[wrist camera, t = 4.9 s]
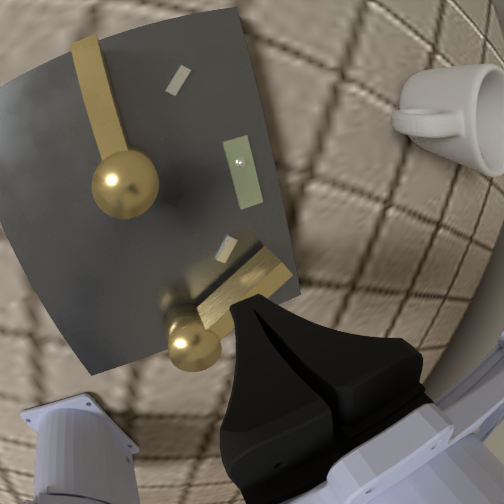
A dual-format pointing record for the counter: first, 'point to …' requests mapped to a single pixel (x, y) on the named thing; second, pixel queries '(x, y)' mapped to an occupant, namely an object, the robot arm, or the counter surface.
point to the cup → (456, 115)
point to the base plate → (169, 194)
